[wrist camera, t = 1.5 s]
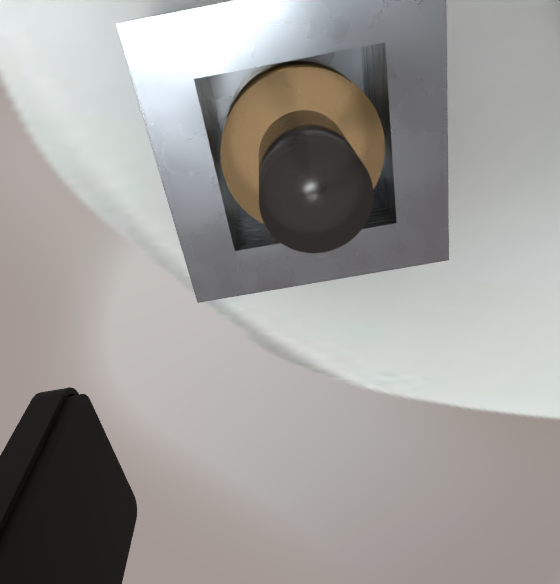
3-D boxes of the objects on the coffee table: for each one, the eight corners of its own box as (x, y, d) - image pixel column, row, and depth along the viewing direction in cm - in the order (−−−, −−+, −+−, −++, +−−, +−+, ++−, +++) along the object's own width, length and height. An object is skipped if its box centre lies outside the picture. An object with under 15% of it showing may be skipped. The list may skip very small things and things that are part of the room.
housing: (400, -31, 26) (445, -42, 20) (412, 211, 32) (448, 259, 26) (148, 19, 26) (115, 23, 20) (208, 247, 33) (197, 302, 27)
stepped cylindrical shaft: (354, 42, 26) (418, 67, 16) (367, 181, 30) (425, 275, 19) (213, 69, 27) (184, 111, 16) (242, 203, 30) (234, 308, 20)
